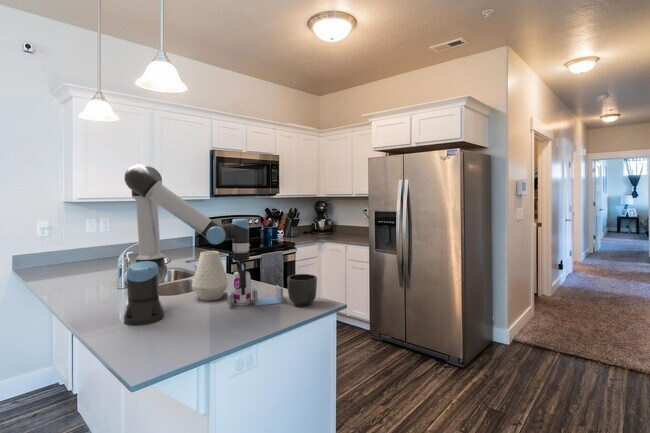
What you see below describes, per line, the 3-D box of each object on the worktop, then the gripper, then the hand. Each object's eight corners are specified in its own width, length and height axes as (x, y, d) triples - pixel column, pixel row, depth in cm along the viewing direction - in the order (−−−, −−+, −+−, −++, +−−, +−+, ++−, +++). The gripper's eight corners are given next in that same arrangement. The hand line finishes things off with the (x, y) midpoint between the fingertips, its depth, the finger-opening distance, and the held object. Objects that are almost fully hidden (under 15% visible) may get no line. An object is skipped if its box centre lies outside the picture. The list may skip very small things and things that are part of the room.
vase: (187, 296, 189) (186, 252, 188) (220, 291, 200) (219, 248, 198) (199, 304, 175) (198, 256, 174) (234, 298, 186) (233, 252, 185)
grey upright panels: (228, 308, 169) (228, 293, 169) (227, 301, 180) (226, 286, 180) (283, 303, 177) (282, 288, 176) (278, 296, 188) (278, 282, 188)
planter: (292, 299, 184) (291, 273, 183) (319, 300, 181) (319, 274, 180) (284, 307, 170) (283, 280, 169) (313, 309, 168) (313, 281, 167)
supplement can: (246, 306, 172) (246, 274, 171) (230, 305, 174) (229, 274, 173) (253, 301, 180) (253, 271, 179) (237, 300, 182) (237, 270, 181)
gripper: (251, 254, 166) (252, 304, 168) (246, 248, 186) (247, 292, 188) (234, 255, 164) (235, 306, 166) (231, 248, 184) (232, 293, 185)
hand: (242, 298), depth 177 cm, fingers closed on supplement can, 8 cm apart
